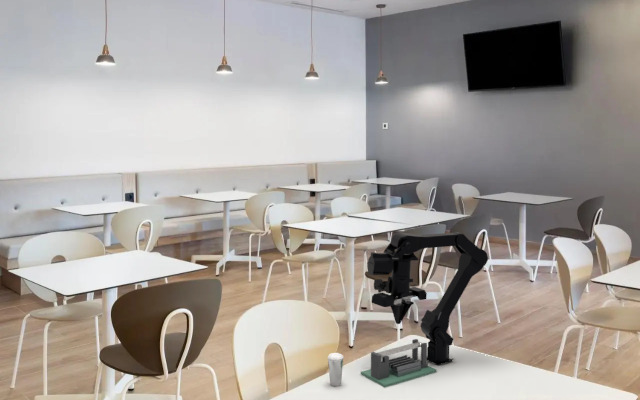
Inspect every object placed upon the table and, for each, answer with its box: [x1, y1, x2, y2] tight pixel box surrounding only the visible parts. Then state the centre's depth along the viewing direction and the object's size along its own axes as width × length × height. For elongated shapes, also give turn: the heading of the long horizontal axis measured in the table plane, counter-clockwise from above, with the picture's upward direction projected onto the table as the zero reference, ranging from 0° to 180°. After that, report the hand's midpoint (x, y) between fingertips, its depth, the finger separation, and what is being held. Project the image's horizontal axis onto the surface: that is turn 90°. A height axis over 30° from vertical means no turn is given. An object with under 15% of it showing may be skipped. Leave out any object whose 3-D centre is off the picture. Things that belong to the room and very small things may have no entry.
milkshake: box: [327, 352, 345, 387], centre depth 177 cm, size 5×5×10 cm
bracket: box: [411, 338, 429, 369], centre depth 189 cm, size 2×5×8 cm, turn 33°
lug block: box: [370, 351, 390, 380], centre depth 180 cm, size 4×4×7 cm
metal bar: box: [376, 340, 423, 362], centre depth 184 cm, size 17×2×2 cm, turn 123°
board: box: [360, 357, 438, 388], centre depth 185 cm, size 20×12×1 cm, turn 123°
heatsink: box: [389, 354, 421, 377], centre depth 185 cm, size 9×7×3 cm
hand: (397, 323), depth 190 cm, fingers closed
